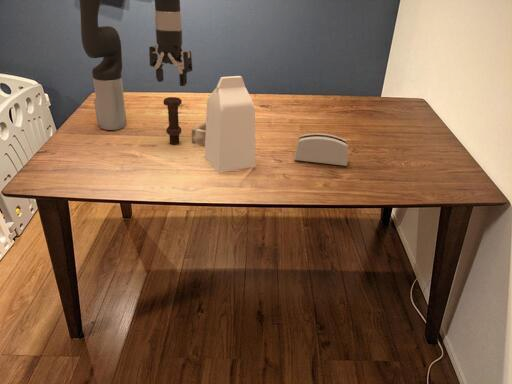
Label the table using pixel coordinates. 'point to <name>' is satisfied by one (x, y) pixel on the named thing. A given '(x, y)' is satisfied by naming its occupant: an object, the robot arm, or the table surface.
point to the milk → (230, 126)
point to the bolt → (173, 118)
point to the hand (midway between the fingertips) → (171, 83)
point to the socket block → (199, 134)
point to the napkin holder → (322, 149)
